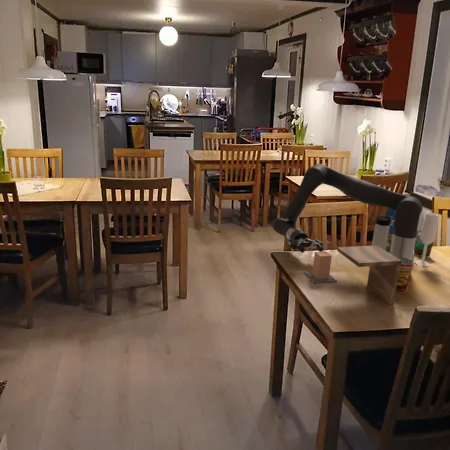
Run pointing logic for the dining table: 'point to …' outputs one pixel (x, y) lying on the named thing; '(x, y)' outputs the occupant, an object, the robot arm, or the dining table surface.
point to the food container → (421, 246)
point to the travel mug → (381, 232)
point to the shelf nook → (376, 269)
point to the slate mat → (315, 280)
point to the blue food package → (390, 228)
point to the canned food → (404, 274)
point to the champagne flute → (428, 234)
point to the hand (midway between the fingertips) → (312, 250)
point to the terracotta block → (321, 265)
